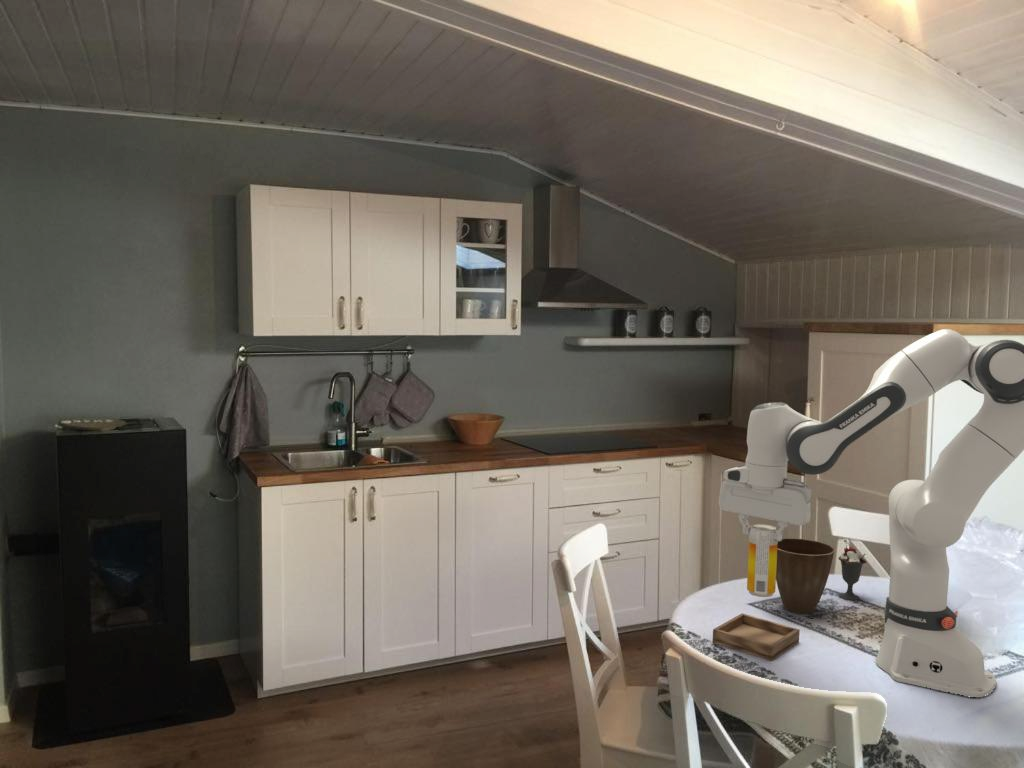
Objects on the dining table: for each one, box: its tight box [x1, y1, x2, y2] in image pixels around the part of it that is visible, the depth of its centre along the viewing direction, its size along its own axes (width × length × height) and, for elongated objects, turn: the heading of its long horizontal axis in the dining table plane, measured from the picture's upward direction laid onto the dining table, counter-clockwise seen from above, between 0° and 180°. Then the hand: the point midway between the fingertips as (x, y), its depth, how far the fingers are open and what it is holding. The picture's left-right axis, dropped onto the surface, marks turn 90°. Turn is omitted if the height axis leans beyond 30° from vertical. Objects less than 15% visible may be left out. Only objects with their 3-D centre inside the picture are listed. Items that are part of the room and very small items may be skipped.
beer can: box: [746, 524, 778, 598], centre depth 191 cm, size 6×6×15 cm
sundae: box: [837, 539, 867, 601], centre depth 225 cm, size 7×7×15 cm
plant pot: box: [776, 537, 835, 615], centre depth 215 cm, size 15×15×16 cm
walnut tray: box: [712, 613, 801, 662], centre depth 193 cm, size 14×14×3 cm
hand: (762, 537), depth 191 cm, fingers closed on beer can, 6 cm apart
